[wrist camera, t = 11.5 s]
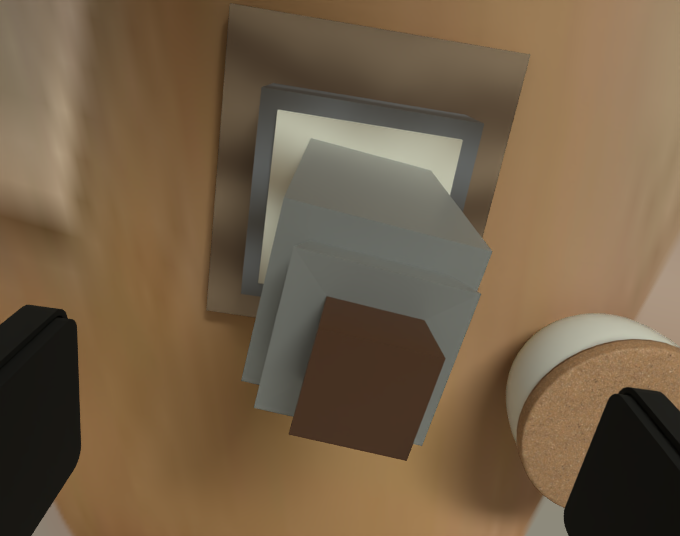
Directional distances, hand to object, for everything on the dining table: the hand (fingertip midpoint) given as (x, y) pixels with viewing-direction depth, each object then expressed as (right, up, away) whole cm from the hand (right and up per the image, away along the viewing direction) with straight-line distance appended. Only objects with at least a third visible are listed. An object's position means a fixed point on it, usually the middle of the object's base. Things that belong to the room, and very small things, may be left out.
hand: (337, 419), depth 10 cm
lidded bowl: (+18, -4, +32) cm, 37 cm away
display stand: (+1, +8, +28) cm, 29 cm away
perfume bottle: (+1, +6, +21) cm, 22 cm away
